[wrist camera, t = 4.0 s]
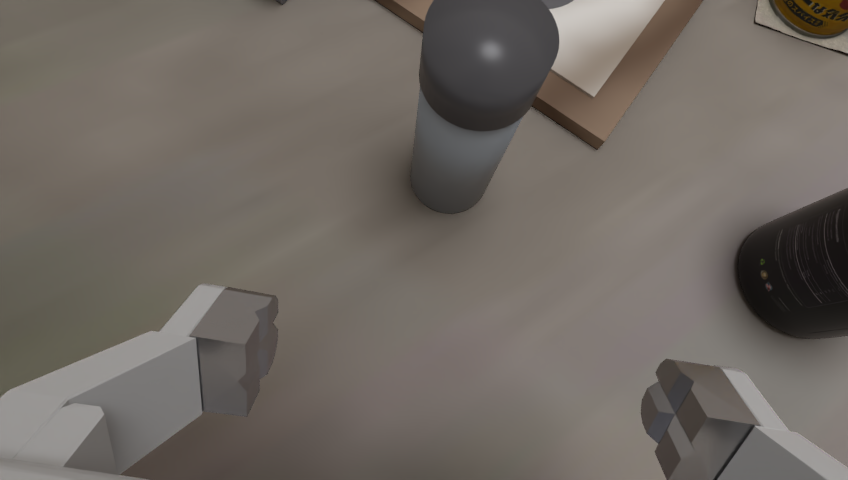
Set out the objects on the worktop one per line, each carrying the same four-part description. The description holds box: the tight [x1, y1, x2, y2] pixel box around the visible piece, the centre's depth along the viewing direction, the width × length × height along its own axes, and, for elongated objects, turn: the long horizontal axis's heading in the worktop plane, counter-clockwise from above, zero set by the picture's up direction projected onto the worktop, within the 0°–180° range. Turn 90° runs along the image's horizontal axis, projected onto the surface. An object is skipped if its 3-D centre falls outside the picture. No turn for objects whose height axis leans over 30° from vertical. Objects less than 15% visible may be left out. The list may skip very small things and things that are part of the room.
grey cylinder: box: [410, 0, 559, 213], centre depth 22 cm, size 5×5×12 cm
